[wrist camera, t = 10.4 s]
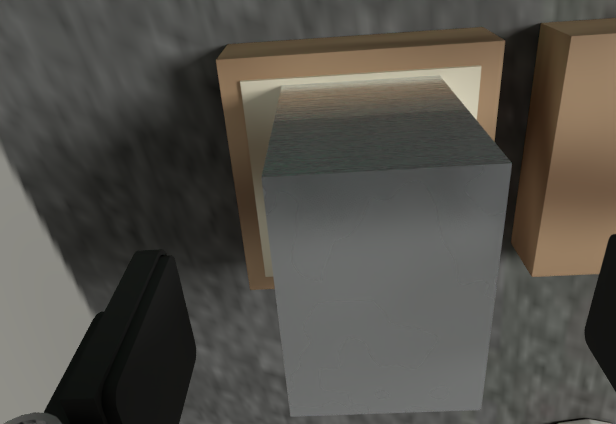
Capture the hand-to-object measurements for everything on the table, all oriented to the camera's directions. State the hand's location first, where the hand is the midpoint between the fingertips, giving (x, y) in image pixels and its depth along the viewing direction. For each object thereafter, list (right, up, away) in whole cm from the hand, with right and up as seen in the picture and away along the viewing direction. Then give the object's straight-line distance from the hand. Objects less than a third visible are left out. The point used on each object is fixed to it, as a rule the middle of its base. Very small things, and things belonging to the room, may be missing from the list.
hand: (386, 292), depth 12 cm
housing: (0, +3, +7) cm, 7 cm away
